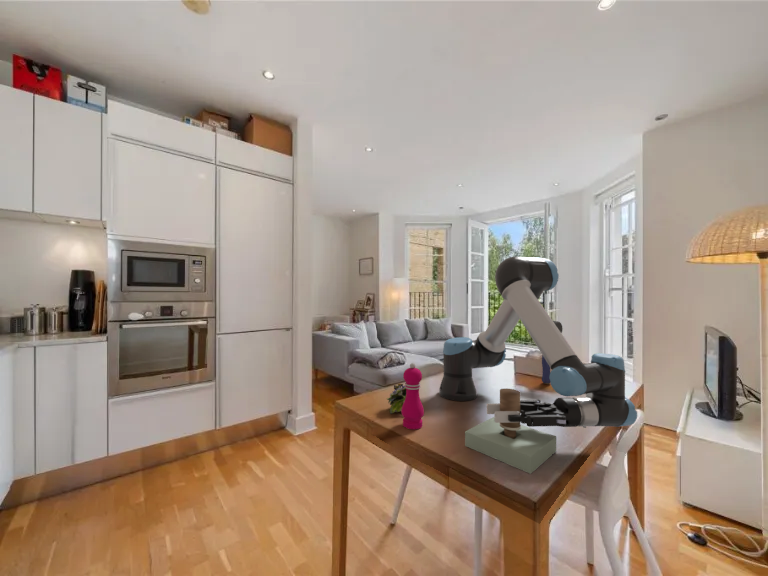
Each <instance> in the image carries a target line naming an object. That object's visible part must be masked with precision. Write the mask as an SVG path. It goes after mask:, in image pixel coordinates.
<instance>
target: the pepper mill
mask: <svg viewBox="0 0 768 576" xmlns="http://www.w3.org/2000/svg"><path fill="white" fill-rule="evenodd" d="M422 379H423V374H422V371H421V370H420V369H418V368H416V364H415V363H414V362H411V363H410V364H409V367H408V368H406V369H405V370H404V372H403V381H405V383H404V385H405V388H406V398H405V401H404V403H403V406H402V410H401V411H400V412H401V415H402V417H403V419H402V426H403V427H404V428H405V427H406V428H405V429H408V430H419V429H421V428H422V427H423V419H422V418H423V417H424V416H425V415H424V414H425V410H424V406H423V403H422V401H421V398H420V389H421V381H422Z"/></svg>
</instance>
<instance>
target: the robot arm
mask: <svg viewBox="0 0 768 576" xmlns="http://www.w3.org/2000/svg"><path fill="white" fill-rule="evenodd" d="M557 267H558V266H557V265H556V264H555V262H553V261H552V260H551V259H549V258H544V257H543V258H542V257H532V256H531V257H528V256H527V257H526V256H511V257H507V258H505V259H503V261H501V262H500V263H499V264H498V265H497V268H496V271H495V274H494V275H495V276H494V279H495V280H494V281H495V285H496V288H497V290H498V292H499V295H501V297H502V298H503V301H502V302H501V305H500V306H499V307H498V309H497V311H496V312H495V314H494V316H493V318H492V319H491V321H490V323H489V324H488V326H487V328H486V329H485V330H484V331H481V332H479V334H478V336H477V337H476V339H475V340H472V338H470V337H465V336H461V337H459V336H458V337H452V338H449V339H447V340H445V341H444V343H443V350H442V353H443V376H442V378H441V379H442V380H441V383H440V384H439V385H440V386H439V390H438V391H439V396H440V397H442V398H444V399H446V400H450V401H457V402H458V401H459V402H465V401H467V402H468V401H472V400H475V399H477V397H478V396H477V389H476V385H475V383H474V379H473V369H483V368H493V367H497V366H499V365H502V364H503V362H504V361H505V359H506V356H507V354H506V352H507V349H506V344H505V342H506V341H507V340H508V338H509V336H510V335H511V333H513V330H514V329H515V327H516V326H517V324H518V323H519V321H521V323H522V325H523V326H524V328H525V329H526V331H527V333H528V334H529V336H530V338H531V339H532V340H533V342H534V343H535V345H536V347H537V349H538V351H540V353H541V356H542V355H543V357H544V358H545V360H546V361H547V363H548V365H549V366H550V376H549V379H550V382H551V383H550V384H549V385H550V386H551V388H552V389H553V391H555V392H556V393H557V394H559V395H560V396H563V397H557V398H556V399H555V400H554V402H553V403H550V402H546V401H545V402H541V399H539V398H538V399H529V400H528V399H527V400H525V399H524V400H523V399H522V400H521V399H520V412H519V411H500V402H499V403H498V402H497V403H486V414H487V415H494V416H493V417H494V422H495V423H514V422H520V424H523V425H524V424H525V425H526V427H529V428H531V427H561V428H562V427H564V428H570V427H571V428H576V427H582V428H583V429H584V428H585V429H586V428H587V427H613V428H615V427H616V428H618V427H627V426H632V425H633V424H635V423H636V421H637V419H638V411H637V410H636V406H635V404H634V403H633V401H632V400H630V399H629V398H628V397H626V370H625V368H626V367H625V360H624V358H623V357H621V356H620V355H616V354H611V353H602V352H601V353H594V354H592V356H591V360H590V363H584V362H582V360H581V359H580V358H579V356H578V355H577V354H576V352H575V351H574V349H573V348H572V346H571V345H570V343H569V342H568V341H567V339H566V338H565V336H564V335H563V333H561V332H560V331H559V329H558V328H557V326H556V325H555V324H554V322H553V321H554V320H553V319H552V318H551V316H550V315H549V313H548V312H547V311H546V309H545V308H544V306H543V305H542V303H541V302H540V301H539V300H540V297H541V296H542V295H543V293H544V292H548V291H550V290H552V289H555V287H556V285H558V281H559V272H558V268H557ZM587 393H592V397H586V396H584V395H586V394H587ZM579 396H580V397H579ZM583 396H584V397H583Z"/></svg>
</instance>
